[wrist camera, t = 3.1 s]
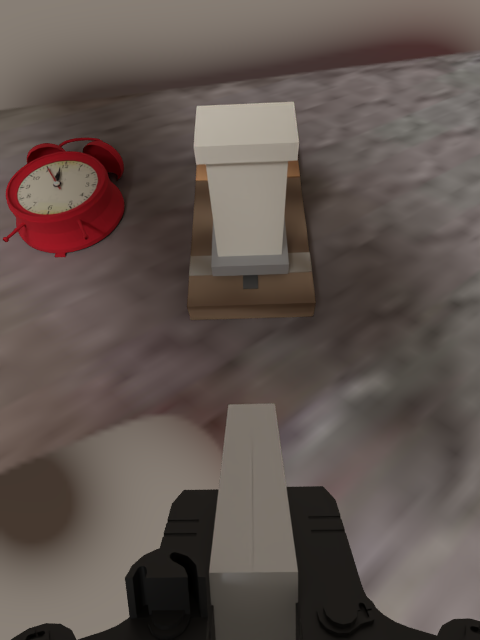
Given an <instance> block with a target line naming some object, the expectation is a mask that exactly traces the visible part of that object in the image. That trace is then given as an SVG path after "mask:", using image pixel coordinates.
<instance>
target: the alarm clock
mask: <svg viewBox="0 0 480 640" xmlns="http://www.w3.org/2000/svg"><path fill="white" fill-rule="evenodd" d="M81 140H92V142H90V143H88V144H87V145H86V146H85V147H84V148H83V153H81V152H70V151H67V152H66V151H65V150H64V149H63V148H62V146H63V145H65V144H67V143H69V142H74V141H81ZM123 171H124V164H123V160H122V158H121V156H120V154H119V153H118V152H117V151H116V149H114V148H113V147H112V146H111V145H109V144H107V143H105V142H103V141H101V140H100V139H97V138H75V139H70V140H67V141H64V142H63V143H61V144H60V145H59V146H58V145H55V144H50V143H44V144H40V145H37V146H35V147H33V148H32V149H31V150H30V151H29V153H28V155H27V164H26V165H25V166H24V167H22V168H21V169H20V170H19V171H17V172H16V173H15V175H14V176H13V177H12V178H11V180H10V182H9V183H8V186H7V189H6V199H7V204H8V206H9V208H10V210H11V211H12V212H13V214H14V215H15V216H16V226H17V228H15V229H14V231H13V232H12V233H11V234H9V235H8V236H7V237H4V238H3V240H4V241H5V242H8V241H9V238H10V237H11V236H13V235H14V234H15V233H16V232H19V234H20V236H21V237H22V239H23V240H24V241H25V242H26V243H27V244H28V245H30V246H31V247H33V248H35V249H37V250H40V251H44V252H49V253H56V254H55V257H65V254H66V252H73V251H77V250H80V249H84V248H86V247H89V246H91V245H93V244H95V243H97V242H99V241H100V240H102V239H104V238H105V237H106V236H107V235H109V234H110V233H111V232H112V231H113V230H114V229H115V227H116V226H117V225H118V223H119V222H120V220H121V218H122V216H123V213H124V199H123V196H122V194H121V192H120V190H119V189H118V187H117V186H116V185H115V184H113V183H112V182H111V181H110V180H109V177H108V173H107V172H112V173H115V174H116V175H118V178H117V180H118V179H119V178H120V177H121V176H122V174H123Z"/></svg>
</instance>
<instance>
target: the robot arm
mask: <svg viewBox="0 0 480 640" xmlns="http://www.w3.org/2000/svg"><path fill="white" fill-rule="evenodd" d="M125 581H126V589H127V599H128V607H129V615H130V617H129V618H128V619H127V620H125V621H124V622H122V623H121V624H119V625H117V626H116V627H113V628H111V629H108V630H106V631H103V632H100V633H97V634H94V635H91V636H88V637H85V638H81V639H78V640H480V621H476V620H473V619H453V620H451V621H450V622H448V623H446V624H444V625H442V627H441V629H440V631H439V633H438V635H437V636H436V635H433V634H429V633H426V632H423V631H419V630H416V629H413V628H409V627H406V626H404V625H402V624H399V623H397V622H394V621H393V620H391V619H390V618H388V617H386V616H385V615H383V614H382V613H381V612H380V611H379V610H378V609H377V608H376V607H375V605H374V604H373V602H372V601H371V600H370V599H369V598H368V597H367V596H366V594H365V592H364V590H363V587H362V585H361V581H360V578H359V575H358V572H357V568H356V565H355V562H354V559H353V555H352V552H351V549H350V546H349V542H348V539H347V536H346V533H345V530H344V526H343V523H342V520H341V518H340V513H339V510H338V507H337V503H336V500H335V499H334V498H333V497H332V496H331V495H330V493H329V492H328V491H327V490H326V489H325V488H324V487H323V486H316V487H286V481H285V474H284V466H283V459H282V452H281V445H280V437H279V430H278V423H277V416H276V408H275V404H231V405H228V413H227V422H226V430H225V439H224V448H223V456H222V465H221V474H220V482H219V490H184V491H183V492H182V493H181V494H180V495H179V496H178V498H177V499H176V500H175V501H174V502H173V503H172V506H171V509H170V513H169V517H168V523H167V524H166V528H165V531H164V537H163V538H162V542H161V546H160V549H156V550H154V551H152V552H150V553H148V554H146V555H144V556H143V557H141V558H140V559H139V560H138V561H137V562H136V563H135V564H133V565H132V567H131V569H130V571H129V572H128V574H127V575H126V577H125ZM11 640H76V638H75V636H74V634H73V632H72V630H70V629H69V628H67V627H65V626H63V625H62V624H48V623H46V624H42V625H39V626H36V627H32V628H29V629H27V630H26V631H24V632H22V633H21V634H19V635H17V636H16V637H14V638H13V639H11Z"/></svg>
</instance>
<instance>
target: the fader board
mask: <svg viewBox="0 0 480 640" xmlns="http://www.w3.org/2000/svg"><path fill="white" fill-rule="evenodd" d="M284 217H285V226H286V238H287V249H288V260H289V269H288V274H269V275H238V276H213V274H212V268H211V262H212V233H213V215H212V208H211V200H210V193H209V185H208V178H207V170H206V164H199V165H197V169H196V186H195V201H194V215H193V229H192V243H191V256H190V269H189V286H188V300H187V308H188V312H189V316H190V319H191V320H208V319H242V318H276V317H311V316H313V314H314V309H315V304H316V300H315V292H314V284H313V276H312V267H311V259H310V252H309V245H308V237H307V229H306V221H305V213H304V205H303V197H302V189H301V181H300V172H299V164H298V160H297V161H288V168H287V183H286V198H285V212H284Z"/></svg>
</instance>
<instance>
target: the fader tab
mask: <svg viewBox="0 0 480 640" xmlns="http://www.w3.org/2000/svg"><path fill="white" fill-rule="evenodd" d="M298 149H299V138H298V130H297V123H296V115H295V108H294V102H278V103H256V104H234V105H212V106H197V110H196V123H195V135H194V153H195V159H196V165H199V164H206V170H207V178H208V185H209V193H210V200H211V208H212V215H213V233H212V262H211V268H212V274H213V276H238V275H269V274H288V269H289V260H288V249H287V238H286V226H285V217H284V212H285V198H286V183H287V168H288V161H297V160H298Z"/></svg>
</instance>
